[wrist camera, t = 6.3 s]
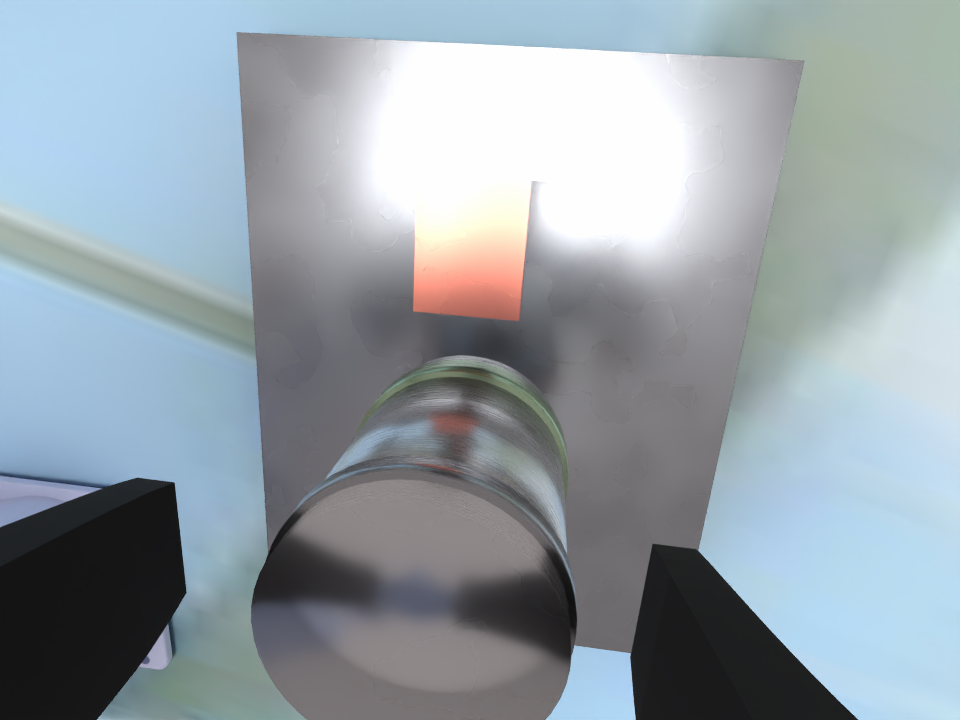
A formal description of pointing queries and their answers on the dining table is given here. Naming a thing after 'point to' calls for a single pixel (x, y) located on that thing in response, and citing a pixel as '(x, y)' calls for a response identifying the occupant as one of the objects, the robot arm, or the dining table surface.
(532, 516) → the silver metal canister
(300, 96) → the stand
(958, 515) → the dining table surface
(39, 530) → the robot arm
